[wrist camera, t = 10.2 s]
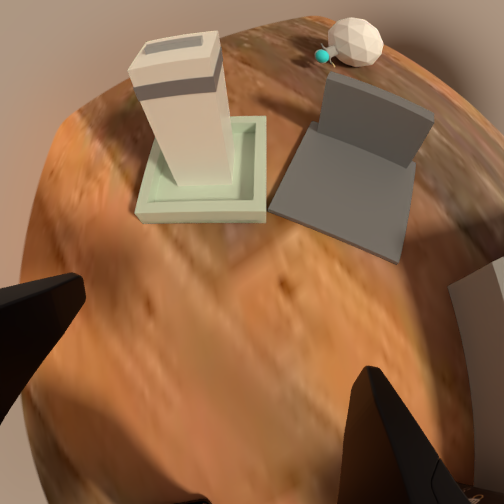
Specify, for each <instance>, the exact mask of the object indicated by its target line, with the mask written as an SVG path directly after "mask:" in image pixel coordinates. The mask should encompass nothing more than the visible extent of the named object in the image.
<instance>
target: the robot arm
mask: <svg viewBox="0 0 504 504" xmlns="http://www.w3.org/2000/svg"><path fill="white" fill-rule="evenodd" d="M85 300H86V293H85V287H84V281H83V278H82V276H80V275H78V274H76V273H73V272H71V273H66V274H62V275H57V276H53V277H48V278H44V279H40V280H35V281H31V282H27V283H22V284H18V285H14V286H9V287H6V288H1V289H0V425H1V423H2V421H3V419H4V418H5V416H6V415H7V413H8V411H9V410H10V408H11V406H12V405H13V404H14V402H15V401H16V399H17V398H18V396H19V395H20V393H21V392H22V390H23V389H24V387H25V386H26V384H27V383H28V381H29V380H30V379H31V377H32V376H33V374H34V373H35V372H36V370H37V369H38V367H39V366H40V365H41V363H42V362H43V361H44V359H45V358H46V357H47V355H48V354H49V353H50V351H51V350H52V349H53V348H54V346H55V345H56V344H57V342H58V341H59V340H60V338H61V337H62V336H63V334H64V333H65V331H66V330H67V328H68V327H69V325H70V324H71V322H72V321H73V319H74V318H75V316H76V315H77V313H78V312H79V310H80V309H81V307H82V306H83V304H84V303H85ZM202 503H206V504H212V503H211V502H210V501H209V500H208V499H199V500H194V501H188V502H182V503H176V504H202ZM337 504H472V503H471V502H470V500H469V499H468V498H467V497H466V495H465V494H464V493H463V491H462V490H461V489H460V487H459V486H458V484H457V483H456V482H455V480H454V479H453V477H452V476H451V474H450V473H449V471H448V470H447V468H446V467H445V465H444V463H443V462H442V460H441V459H439V456H438V454H437V452H436V451H435V449H434V448H433V446H432V445H431V443H430V442H429V440H428V439H427V437H426V435H425V434H424V432H423V431H422V429H421V428H420V426H419V425H418V423H417V422H416V420H415V419H414V417H413V416H412V414H411V413H410V411H409V410H408V408H407V407H406V405H405V404H404V403H403V401H402V400H401V398H400V397H399V395H398V394H397V392H396V391H395V389H394V388H393V386H392V385H391V384H390V382H389V381H388V379H387V378H386V376H385V375H384V374H383V372H382V371H381V369H380V368H378V367H373V366H365V367H364V368H363V370H362V371H361V373H360V374H359V376H358V378H357V379H356V381H355V382H354V384H353V386H352V389H351V396H350V402H349V409H348V415H347V421H346V427H345V433H344V441H343V454H342V466H341V476H340V485H339V494H338V501H337Z"/></svg>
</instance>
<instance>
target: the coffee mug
mask: <svg viewBox="0 0 504 504" xmlns="http://www.w3.org/2000/svg"><path fill="white" fill-rule="evenodd" d="M456 483H457V482H456ZM457 484H458V486H459V487H460V489H461V490H462V491H463V493H464V494H465V495H466V497H467V498H468V499H469V500H470V502H471V503H472V504H504V493H501V492H495V491H490V490H486V489H481V488H477V487H473V486H469V485H465V484H461V483H457Z"/></svg>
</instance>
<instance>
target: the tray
mask: <svg viewBox="0 0 504 504" xmlns="http://www.w3.org/2000/svg"><path fill="white" fill-rule="evenodd" d="M230 120H231V127H232V134H233V141H234V148H235V155H234V167H233V180H232V185H200V186H178V185H177V183H176V181H175V179H174V177H173V175H172V173H171V170H170V168H169V166H168V164H167V162H166V159H165V157H164V155H163V153H162V151H161V148H160V146H159V144H158V142H157V139H156V137H155V139H154V142H153V145H152V149H151V152H150V155H149V159H148V162H147V166H146V169H145V173H144V177H143V180H142V184H141V188H140V192H139V196H138V200H137V204H136V209H135V213H134V214H135V215H136V216H137V217H138V218H139V220H140V221H141V222H142V223H143V224H160V223H266V116H233V117H230Z"/></svg>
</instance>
